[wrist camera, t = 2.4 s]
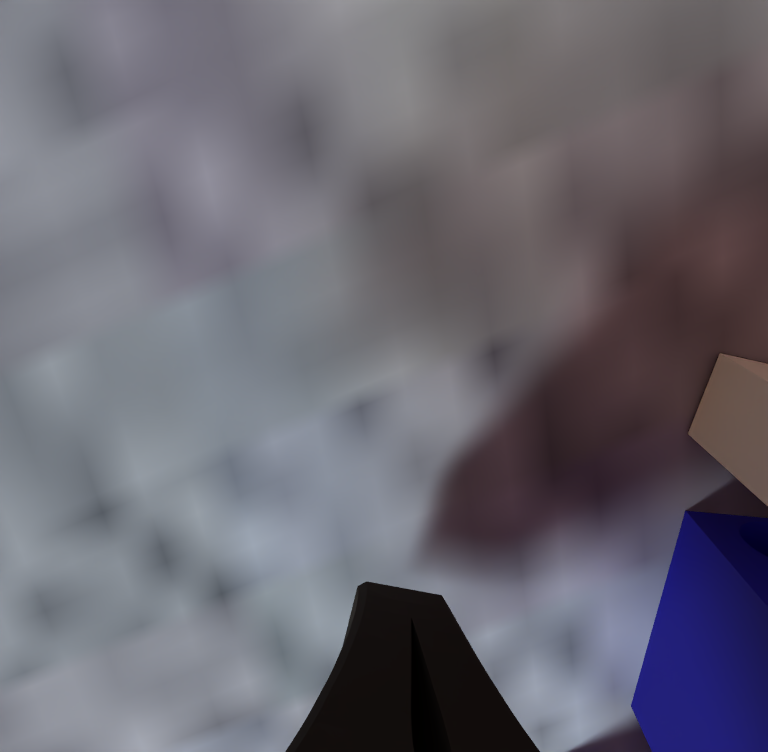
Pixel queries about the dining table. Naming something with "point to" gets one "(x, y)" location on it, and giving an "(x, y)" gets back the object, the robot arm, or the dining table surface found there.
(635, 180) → the dining table surface
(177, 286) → the dining table surface
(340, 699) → the robot arm
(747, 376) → the lane
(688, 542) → the cable clip
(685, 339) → the dining table surface
